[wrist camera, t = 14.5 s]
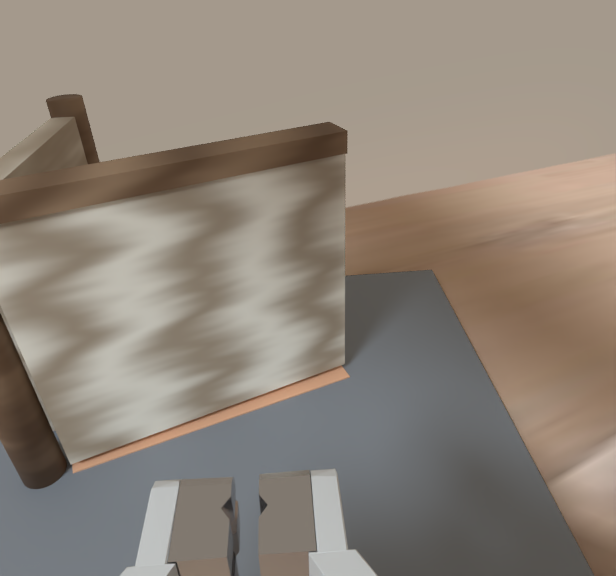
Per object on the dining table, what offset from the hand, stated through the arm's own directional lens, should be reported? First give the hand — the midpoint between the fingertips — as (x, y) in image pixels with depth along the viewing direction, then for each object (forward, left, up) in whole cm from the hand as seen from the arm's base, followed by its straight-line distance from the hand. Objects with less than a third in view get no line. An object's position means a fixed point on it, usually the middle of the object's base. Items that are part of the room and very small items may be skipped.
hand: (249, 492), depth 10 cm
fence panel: (-4, +18, -15) cm, 24 cm away
